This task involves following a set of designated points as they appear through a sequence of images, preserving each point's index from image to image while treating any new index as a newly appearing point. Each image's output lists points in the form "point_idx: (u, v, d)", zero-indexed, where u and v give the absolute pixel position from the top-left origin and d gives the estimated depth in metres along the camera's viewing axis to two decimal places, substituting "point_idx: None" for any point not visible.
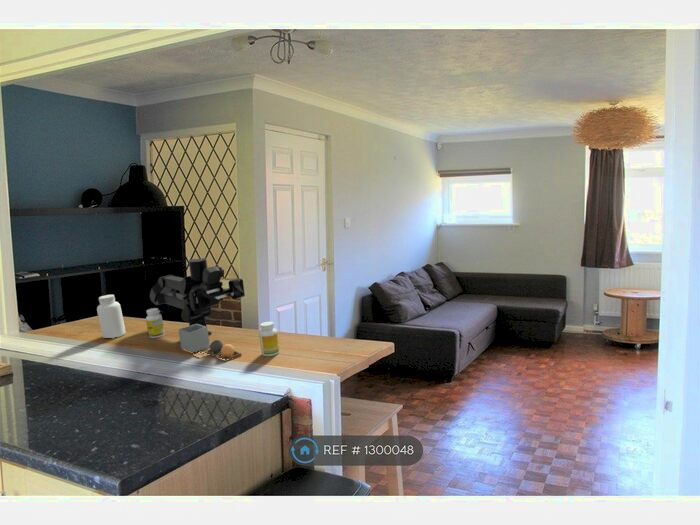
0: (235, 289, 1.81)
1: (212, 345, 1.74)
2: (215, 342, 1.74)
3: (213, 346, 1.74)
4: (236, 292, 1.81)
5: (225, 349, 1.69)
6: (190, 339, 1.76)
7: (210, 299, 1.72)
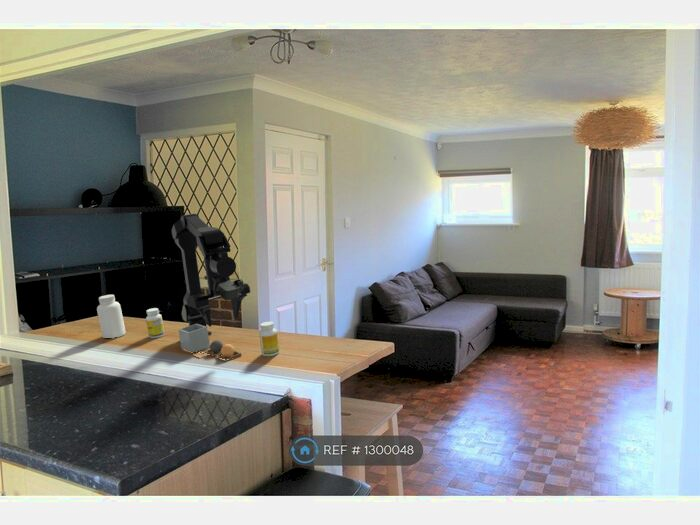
0: (236, 301, 1.71)
1: (212, 345, 1.74)
2: (215, 342, 1.74)
3: (213, 346, 1.74)
4: (234, 302, 1.71)
5: (225, 349, 1.69)
6: (190, 339, 1.76)
7: (206, 317, 1.64)
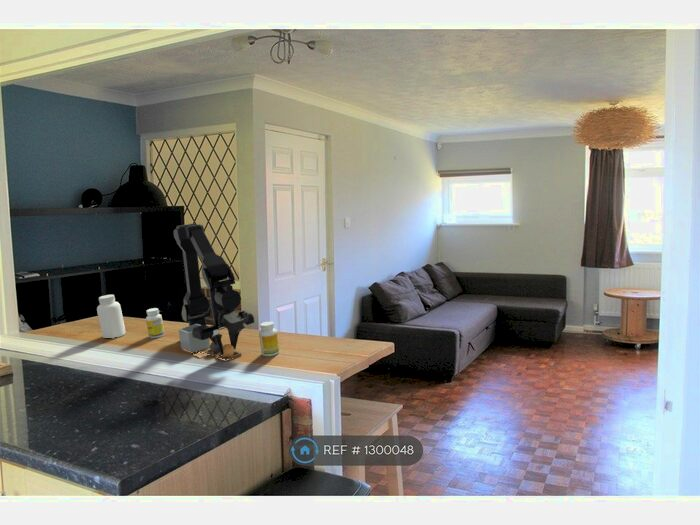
0: (233, 333, 1.71)
1: (212, 345, 1.74)
2: None
3: (213, 346, 1.74)
4: (232, 334, 1.72)
5: (225, 349, 1.69)
6: (190, 339, 1.76)
7: (218, 346, 1.68)
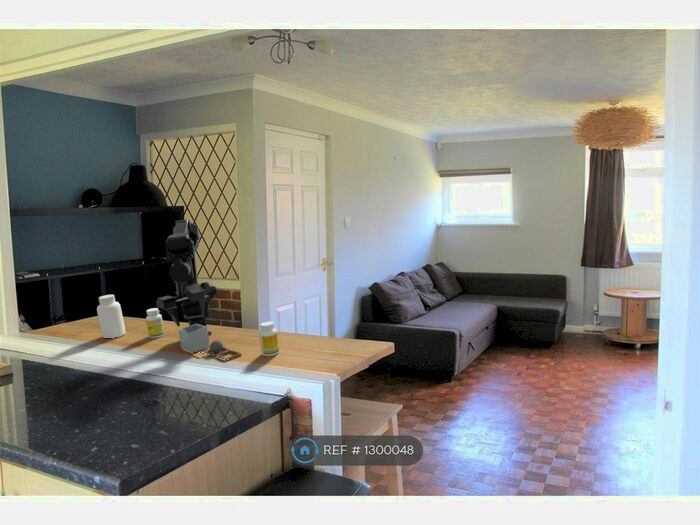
0: (203, 302, 1.81)
1: (212, 345, 1.74)
2: (215, 342, 1.74)
3: (213, 346, 1.74)
4: (202, 303, 1.82)
5: None
6: (190, 339, 1.76)
7: (174, 318, 1.75)
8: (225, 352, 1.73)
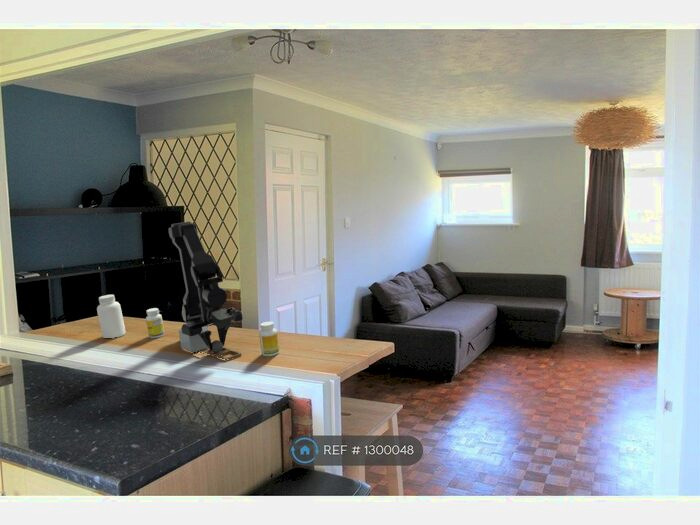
0: (222, 329, 1.76)
1: (212, 345, 1.74)
2: (215, 342, 1.74)
3: (213, 346, 1.74)
4: (220, 330, 1.76)
5: None
6: (190, 339, 1.76)
7: (207, 342, 1.72)
8: (225, 352, 1.73)
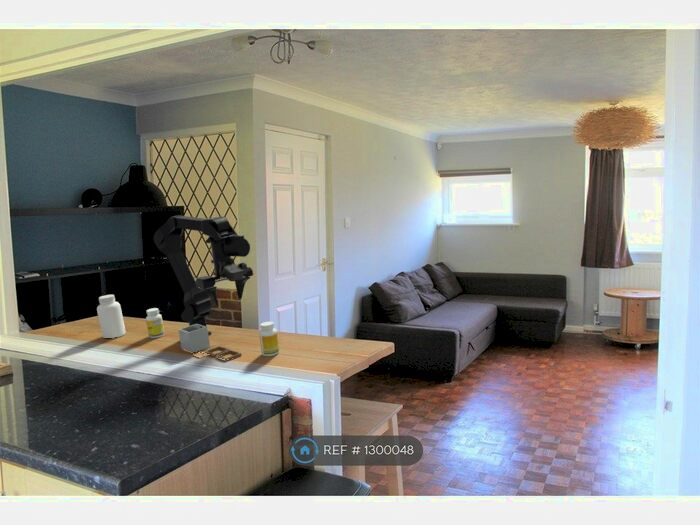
0: (240, 283, 1.86)
1: (194, 325, 1.81)
2: (198, 326, 1.81)
3: (194, 326, 1.80)
4: (238, 284, 1.87)
5: None
6: (190, 339, 1.76)
7: (212, 298, 1.79)
8: (225, 352, 1.73)
